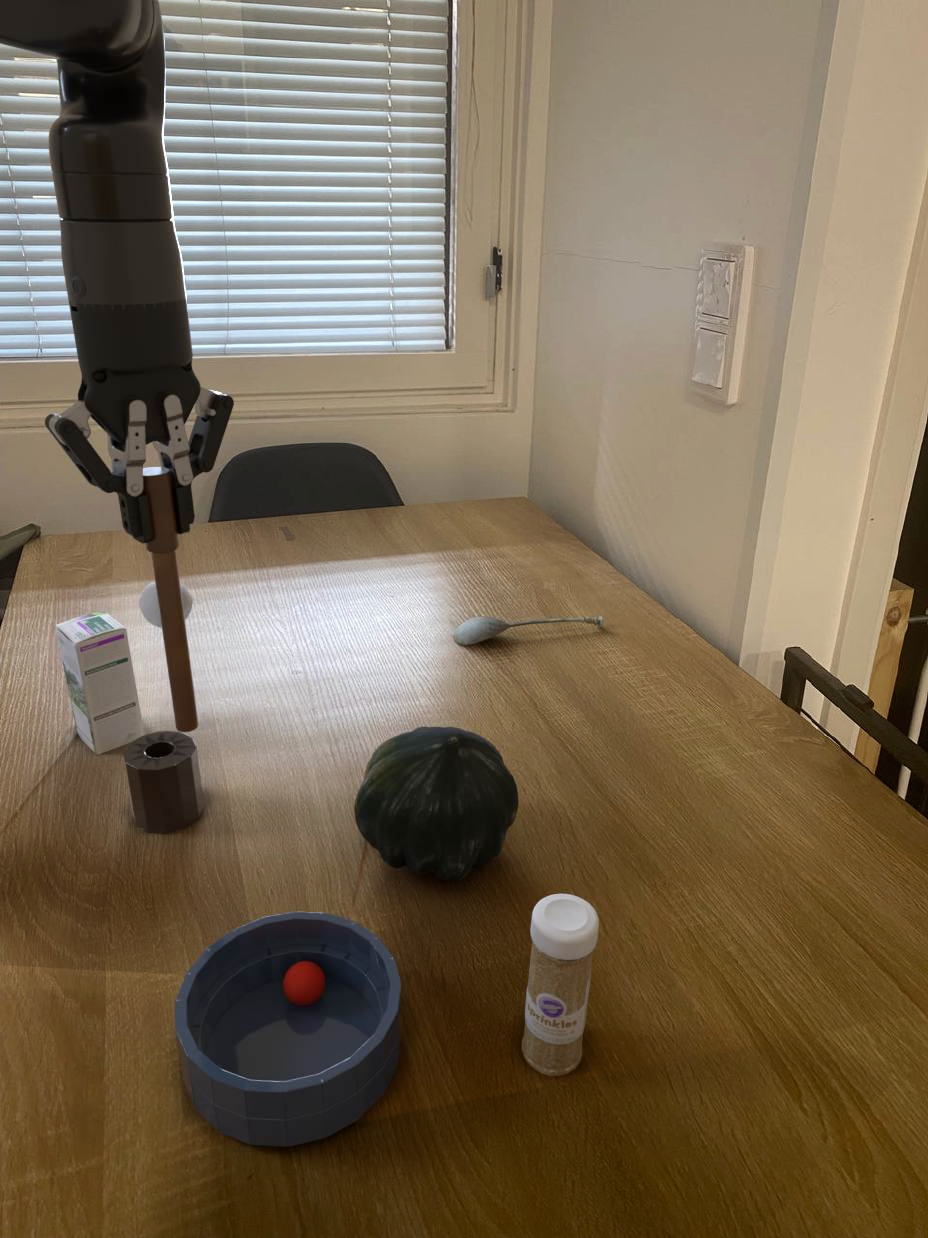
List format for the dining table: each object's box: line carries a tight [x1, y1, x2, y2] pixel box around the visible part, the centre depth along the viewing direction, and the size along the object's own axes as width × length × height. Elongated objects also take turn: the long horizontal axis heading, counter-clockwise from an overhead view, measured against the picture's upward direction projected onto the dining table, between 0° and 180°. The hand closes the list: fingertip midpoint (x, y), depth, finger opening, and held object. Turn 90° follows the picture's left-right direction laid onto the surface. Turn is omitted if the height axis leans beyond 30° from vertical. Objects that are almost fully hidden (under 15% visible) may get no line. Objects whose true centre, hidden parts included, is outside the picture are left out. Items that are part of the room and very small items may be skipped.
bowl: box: [174, 910, 403, 1148], centre depth 66 cm, size 16×16×6 cm
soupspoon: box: [452, 615, 604, 646], centre depth 129 cm, size 22×3×7 cm
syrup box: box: [54, 610, 145, 756], centre depth 100 cm, size 6×6×14 cm
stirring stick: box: [142, 466, 199, 733], centre depth 71 cm, size 2×2×22 cm
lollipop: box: [138, 580, 194, 629], centre depth 109 cm, size 6×6×15 cm
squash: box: [353, 726, 520, 883], centre depth 84 cm, size 14×15×15 cm
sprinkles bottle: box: [521, 893, 600, 1077], centre depth 64 cm, size 5×5×13 cm
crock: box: [122, 730, 205, 834], centre depth 89 cm, size 7×7×8 cm
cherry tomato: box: [283, 961, 325, 1006], centre depth 70 cm, size 3×3×3 cm
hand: (160, 534), depth 68 cm, fingers closed on stirring stick, 2 cm apart
